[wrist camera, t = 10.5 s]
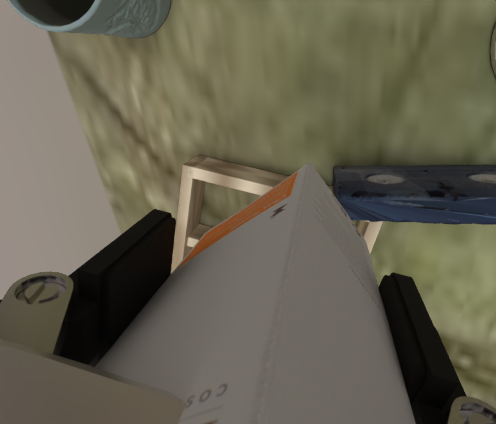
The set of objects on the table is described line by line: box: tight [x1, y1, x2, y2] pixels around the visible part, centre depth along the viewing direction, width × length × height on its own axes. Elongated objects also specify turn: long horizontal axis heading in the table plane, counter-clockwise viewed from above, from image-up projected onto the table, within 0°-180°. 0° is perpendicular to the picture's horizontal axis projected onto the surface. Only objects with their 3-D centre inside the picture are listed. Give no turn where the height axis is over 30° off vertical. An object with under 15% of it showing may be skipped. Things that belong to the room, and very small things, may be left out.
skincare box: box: [95, 163, 416, 424], centre depth 9 cm, size 6×4×12 cm
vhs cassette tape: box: [332, 165, 496, 224], centre depth 31 cm, size 18×3×10 cm, turn 92°
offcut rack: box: [172, 155, 383, 272], centre depth 40 cm, size 21×19×5 cm
